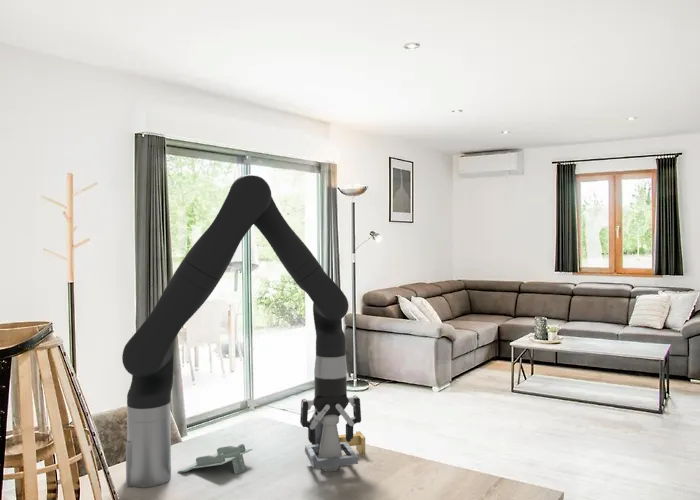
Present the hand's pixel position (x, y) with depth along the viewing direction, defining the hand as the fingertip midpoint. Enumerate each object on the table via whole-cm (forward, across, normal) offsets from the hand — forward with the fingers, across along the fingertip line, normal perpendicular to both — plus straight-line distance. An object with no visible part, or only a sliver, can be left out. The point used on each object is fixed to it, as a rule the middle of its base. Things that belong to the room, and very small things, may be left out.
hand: (330, 442), depth 136 cm
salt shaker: (+6, 0, 0) cm, 6 cm away
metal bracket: (+7, -25, +8) cm, 27 cm away
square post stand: (+6, +3, +4) cm, 8 cm away
